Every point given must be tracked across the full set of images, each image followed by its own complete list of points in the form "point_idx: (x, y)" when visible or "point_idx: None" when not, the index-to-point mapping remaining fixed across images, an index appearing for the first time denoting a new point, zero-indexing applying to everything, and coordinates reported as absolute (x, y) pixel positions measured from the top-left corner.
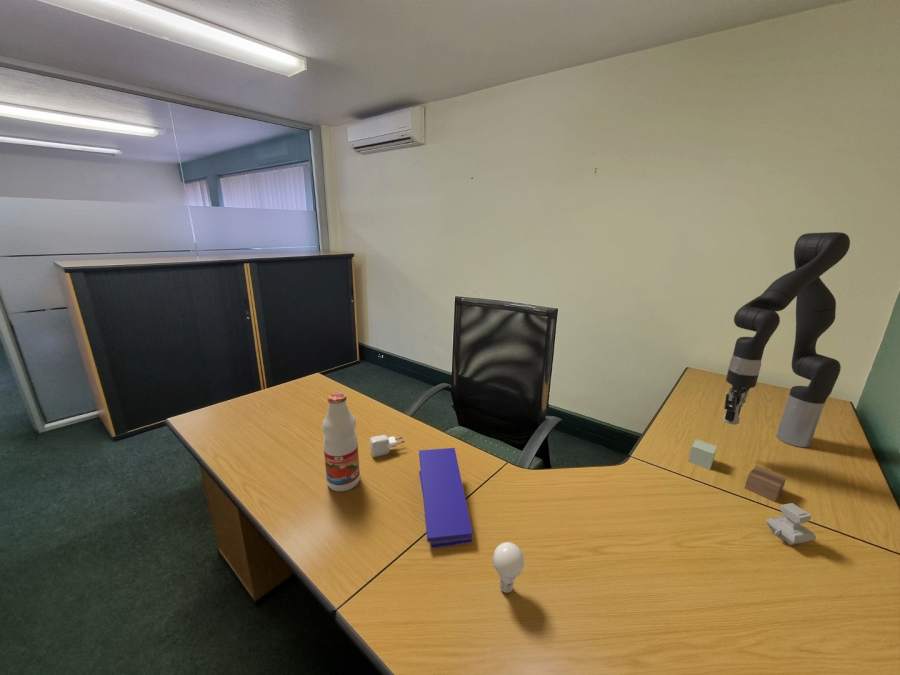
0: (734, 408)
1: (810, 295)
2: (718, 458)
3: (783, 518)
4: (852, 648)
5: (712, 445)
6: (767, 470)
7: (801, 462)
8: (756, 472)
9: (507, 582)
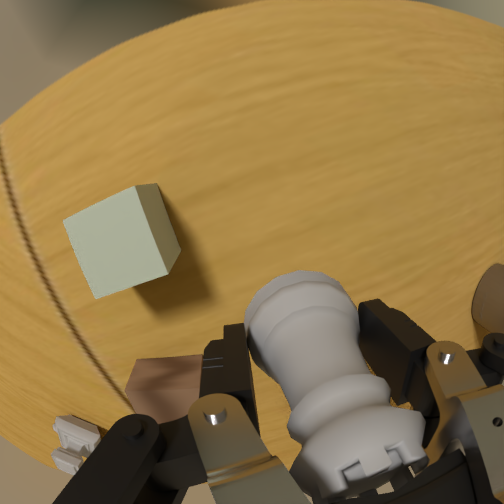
0: (157, 499)
1: None
2: (223, 249)
3: (78, 438)
4: (32, 453)
5: (152, 261)
6: None
7: None
8: (155, 399)
9: None
